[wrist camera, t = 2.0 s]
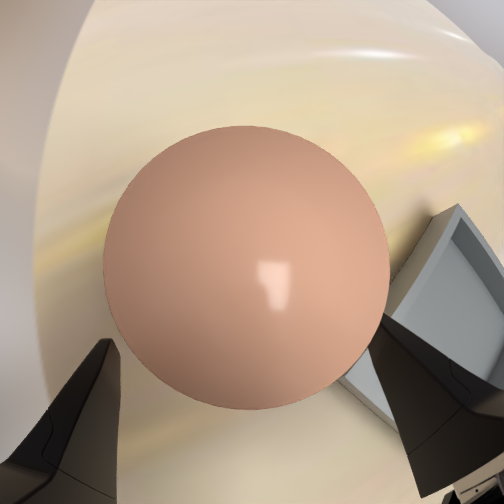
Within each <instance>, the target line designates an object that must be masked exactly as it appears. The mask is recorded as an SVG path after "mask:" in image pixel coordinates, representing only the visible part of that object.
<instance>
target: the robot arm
mask: <svg viewBox="0 0 504 504" xmlns="http://www.w3.org/2000/svg"><path fill="white" fill-rule="evenodd" d="M367 347H368V350H369V354H370V357H371V361H372V364H373V367H374V369H375V372H376V374H377V377H378V379H379V382H380V384H381V387H382V389H383V392H384V394H385V397H386V399H387V402H388V405H389V407H390V410H391V412H392V415H393V418H394V420H395V423H396V426H397V429H398V431H399V434H400V437H401V440H402V442H403V445H404V448H405V451H406V454H407V455H408V456H407V457H408V460H409V463H410V466H411V469H412V472H413V475H414V478H415V481H416V485H417V488H418V491H419V494H420V497H421V498H424V497H426V496H428V495H431V494H433V493H435V492H437V491H439V490H441V489H443V488H445V487H447V486H449V485H451V484H452V485H453V487H454V490H452V491H451V492H449V493H447V494H446V495H445V496H444V499H443V502H442V504H504V390H502V389H500V388H497V387H495V386H494V385H492V384H490V383H488V382H487V381H485V380H483V379H482V378H480V377H478V376H476V375H475V374H473V373H471V372H470V371H468V370H467V369H465V368H463V367H462V366H461V365H459V364H458V363H456V362H455V361H453V360H452V359H450V358H448V357H447V356H446V355H445V354H443V353H442V352H440V351H439V350H437V349H436V348H435V347H433V346H432V345H430V344H429V343H427V342H426V341H425V340H423V339H422V338H420V337H419V336H417V335H416V334H414V333H413V332H412V331H410V330H409V329H407V328H406V327H404V326H403V325H401V324H400V323H398V322H397V321H395V320H394V319H393V318H391V317H390V316H388V315H387V314H385V313H384V312H383V315H382V318H381V321H380V323H379V326H378V328H377V330H376V332H375V334H374V336H373V338H372V340H371V342H370V343H369V344H368V346H367ZM120 397H121V391H120V354H119V351H118V349H117V347H116V345H115V343H114V341H113V340H112V339H111V338H102V339H100V340H99V341H98V343H97V344H96V345H95V346H94V348H93V349H92V350H91V351H90V353H89V354H88V355H87V357H86V358H85V359H84V360H83V362H82V363H81V364H80V366H79V367H78V368H77V370H76V371H75V372H74V373H73V375H72V376H71V377H70V379H69V380H68V381H67V383H66V384H65V385H64V387H63V388H62V390H61V391H60V392H59V394H58V395H57V396H56V398H55V399H54V400H53V402H52V403H51V405H50V406H49V407H48V410H46V412H45V413H44V414H43V416H42V417H41V419H40V420H39V421H38V423H37V424H36V425H35V427H34V428H33V429H32V430H31V432H30V433H29V434H28V435H27V437H26V438H25V439H24V440H23V441H22V442H21V444H20V445H19V446H18V447H17V448H16V449H15V451H14V452H13V453H12V454H11V455H10V456H9V458H8V459H6V460H5V461H4V462H2V463H1V464H0V504H117V500H116V499H117V495H116V470H117V440H118V424H119V411H120Z"/></svg>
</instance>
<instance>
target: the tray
mask: <svg viewBox="0 0 504 504" xmlns="http://www.w3.org/2000/svg"><path fill="white" fill-rule="evenodd" d="M384 313H385V314H387V315H388V316H390V317H391V318H393V319H394V320H395V321H397V322H398V323H400V324H401V325H403V326H404V327H406V328H407V329H409V330H410V331H412V332H413V333H414V334H416V335H417V336H419V337H420V338H422V339H423V340H425V341H426V342H427V343H429V344H430V345H432V346H433V347H435V348H436V349H437V350H439V351H440V352H442V353H443V354H445V355H446V356H447V357H448V358H450V359H452V360H453V361H455V362H456V363H458V364H459V365H461V366H462V367H463V368H465V369H467V370H468V371H470V372H471V373H473V374H475V375H476V376H478V377H480V378H482V379H483V380H485V381H487V382H488V383H490V384H492V385H494V386H495V387H497V388H500V389H502V390H504V267H503V266H502V264H501V263H500V261H499V259H498V258H497V256H496V255H495V253H494V252H493V250H492V249H491V247H490V246H489V244H488V243H487V241H486V240H485V238H484V237H483V236H482V234H481V233H480V231H479V230H478V229H477V227H476V226H475V225H474V223H473V222H472V220H471V219H470V218H469V217H468V215H467V214H466V213H465V211H464V210H463V209H462V207H461V206H460V205H459V204H456V205H454V206H452V207H451V208H449V209H447V210H445V211H443V212H441V213H440V214H438V215H436V216H434V217H433V218H432V220H431V222H430V224H429V225H428V227H427V229H426V230H425V232H424V234H423V235H422V237H421V238H420V240H419V242H418V243H417V245H416V247H415V248H414V250H413V251H412V253H411V254H410V256H409V257H408V259H407V261H406V262H405V264H404V265H403V267H402V268H401V270H400V271H399V273H398V274H397V275H396V277H395V278H394V280H393V281H392V283H391V284H390V286H389V291H388V296H387V301H386V305H385V309H384ZM337 380H338V381H339V382H340V383H341V384H342V385H343V386H344V387H346V388H347V389H348V390H349V391H350V392H351V393H352V394H353V395H355V396H356V397H357V398H358V399H359V400H360V401H361V402H363V403H364V404H365V405H366V406H367V407H368V408H369V409H371V410H372V411H373V412H374V413H375V414H376V415H378V416H379V417H380V418H381V419H382V420H383V421H385V422H386V423H387V424H388V425H389V426H390V427H392V428H393V429H394V430H395V431H396V432H398V433H399V431H398V429H397V426H396V423H395V420H394V418H393V415H392V412H391V410H390V407H389V405H388V402H387V399H386V397H385V394H384V392H383V389H382V387H381V384H380V382H379V379H378V377H377V374H376V372H375V369H374V367H373V364H372V361H371V357H370V354H369V350H368V347H366V349H365V350H364V352H363V353H362V355H361V356H360V357H359V358H358V360H357V361H356V362H355V363H354V364H353V365H352V366H351V367H350V368H349V369H348V370H347V371H346V372H345V373H344V374H343V375H342V376H340V377H339V378H338V379H337Z"/></svg>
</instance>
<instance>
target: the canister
mask: <svg viewBox="0 0 504 504" xmlns="http://www.w3.org/2000/svg"><path fill="white" fill-rule="evenodd" d="M103 275H104V283H105V290H106V296H107V299H108V303H109V306H110V310H111V313H112V316H113V318H114V320H115V323H116V325H117V327H118V329H119V331H120V333H121V335H122V337H123V338H124V340H125V341H126V343H127V345H128V346H129V348H130V349H131V351H132V352H133V353H134V354H135V355H136V357H137V358H138V359H139V360H140V361H141V362H142V364H143V365H144V366H145V367H146V368H147V369H149V370H150V371H151V372H152V373H153V374H154V375H155V376H156V377H158V378H159V379H160V380H161V381H163V382H164V383H166V384H167V385H169V386H170V387H172V388H173V389H175V390H177V391H178V392H180V393H182V394H185V395H187V396H189V397H191V398H193V399H195V400H198V401H201V402H204V403H208V404H211V405H214V406H219V407H225V408H231V409H246V410H258V409H266V408H274V407H279V406H283V405H287V404H290V403H294V402H297V401H300V400H302V399H304V398H307V397H309V396H311V395H313V394H315V393H317V392H319V391H320V390H322V389H324V388H325V387H327V386H329V385H330V384H332V383H333V382H334V381H336V380H337V379H338V378H339V377H340V376H342V375H343V374H344V373H345V372H346V371H347V370H348V369H349V368H350V367H351V366H352V365H353V364H354V363H355V362H356V361H357V360H358V358H359V357H360V356H361V355H362V353H363V352H364V350H365V349H366V347H367V346H368V344H369V343H370V342H371V340H372V338H373V336H374V334H375V332H376V330H377V328H378V326H379V323H380V321H381V318H382V315H383V312H384V309H385V305H386V301H387V296H388V291H389V281H390V259H389V250H388V244H387V239H386V235H385V232H384V228H383V225H382V222H381V219H380V217H379V215H378V212H377V210H376V208H375V206H374V204H373V202H372V200H371V199H370V197H369V195H368V194H367V192H366V190H365V189H364V188H363V186H362V185H361V184H360V182H359V181H358V180H357V178H356V177H355V176H354V175H353V174H352V173H351V172H350V171H349V170H348V169H347V168H346V167H345V166H344V165H343V164H342V163H341V162H340V161H338V160H337V159H336V158H335V157H334V156H332V155H331V154H330V153H328V152H327V151H325V150H324V149H322V148H320V147H319V146H317V145H316V144H314V143H312V142H310V141H307V140H305V139H303V138H301V137H299V136H296V135H293V134H290V133H287V132H284V131H280V130H276V129H271V128H266V127H256V126H231V127H224V128H217V129H212V130H209V131H205V132H201V133H198V134H195V135H193V136H190V137H188V138H185V139H183V140H181V141H179V142H177V143H176V144H174V145H172V146H170V147H168V148H167V149H165V150H164V151H163V152H161V153H160V154H159V155H157V156H156V157H154V158H153V159H152V160H151V161H150V162H149V163H148V164H147V165H146V166H145V167H144V168H143V169H142V170H140V172H139V173H138V174H137V175H136V177H135V178H134V179H133V180H132V181H131V183H130V184H129V185H128V187H127V188H126V190H125V192H124V193H123V195H122V197H121V198H120V200H119V202H118V204H117V206H116V209H115V211H114V213H113V215H112V218H111V221H110V225H109V228H108V232H107V235H106V241H105V248H104V258H103Z"/></svg>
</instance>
